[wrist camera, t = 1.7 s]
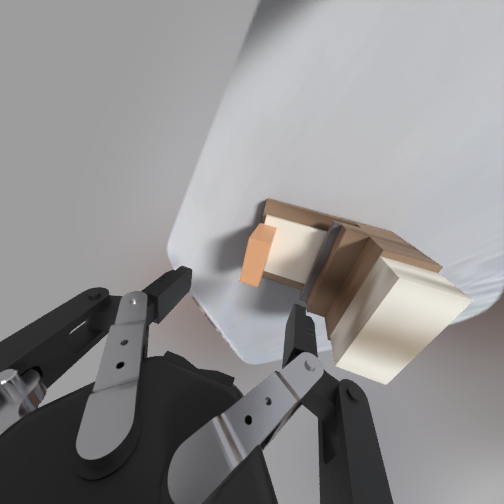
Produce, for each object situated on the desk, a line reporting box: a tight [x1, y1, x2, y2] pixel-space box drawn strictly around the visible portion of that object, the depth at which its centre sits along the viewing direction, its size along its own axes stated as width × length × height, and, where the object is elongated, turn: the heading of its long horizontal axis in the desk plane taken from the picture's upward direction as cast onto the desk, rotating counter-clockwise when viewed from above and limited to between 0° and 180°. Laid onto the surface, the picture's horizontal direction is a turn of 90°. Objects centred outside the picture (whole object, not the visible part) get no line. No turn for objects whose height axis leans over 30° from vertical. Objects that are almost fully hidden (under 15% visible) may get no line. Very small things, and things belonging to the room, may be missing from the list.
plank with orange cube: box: [239, 215, 327, 287], centre depth 19 cm, size 7×10×6 cm
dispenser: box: [261, 198, 473, 385], centre depth 18 cm, size 10×14×11 cm
